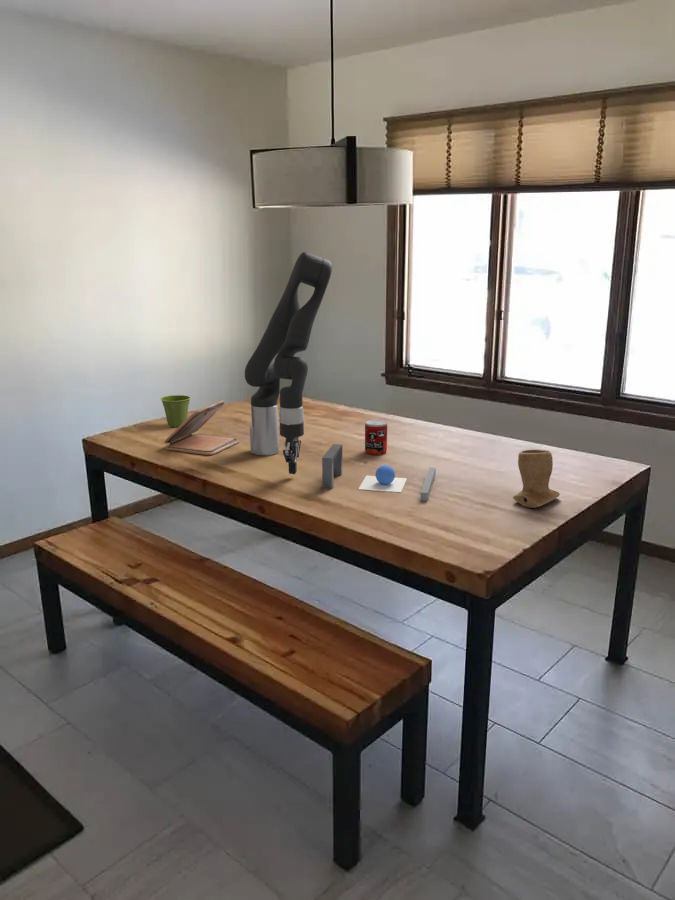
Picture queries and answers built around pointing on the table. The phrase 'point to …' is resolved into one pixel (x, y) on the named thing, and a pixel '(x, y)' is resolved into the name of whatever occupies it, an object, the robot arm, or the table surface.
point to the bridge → (331, 465)
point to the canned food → (376, 437)
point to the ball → (385, 474)
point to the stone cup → (535, 478)
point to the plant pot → (176, 409)
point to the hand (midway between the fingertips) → (292, 473)
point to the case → (199, 442)
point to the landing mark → (382, 485)
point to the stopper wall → (428, 484)
